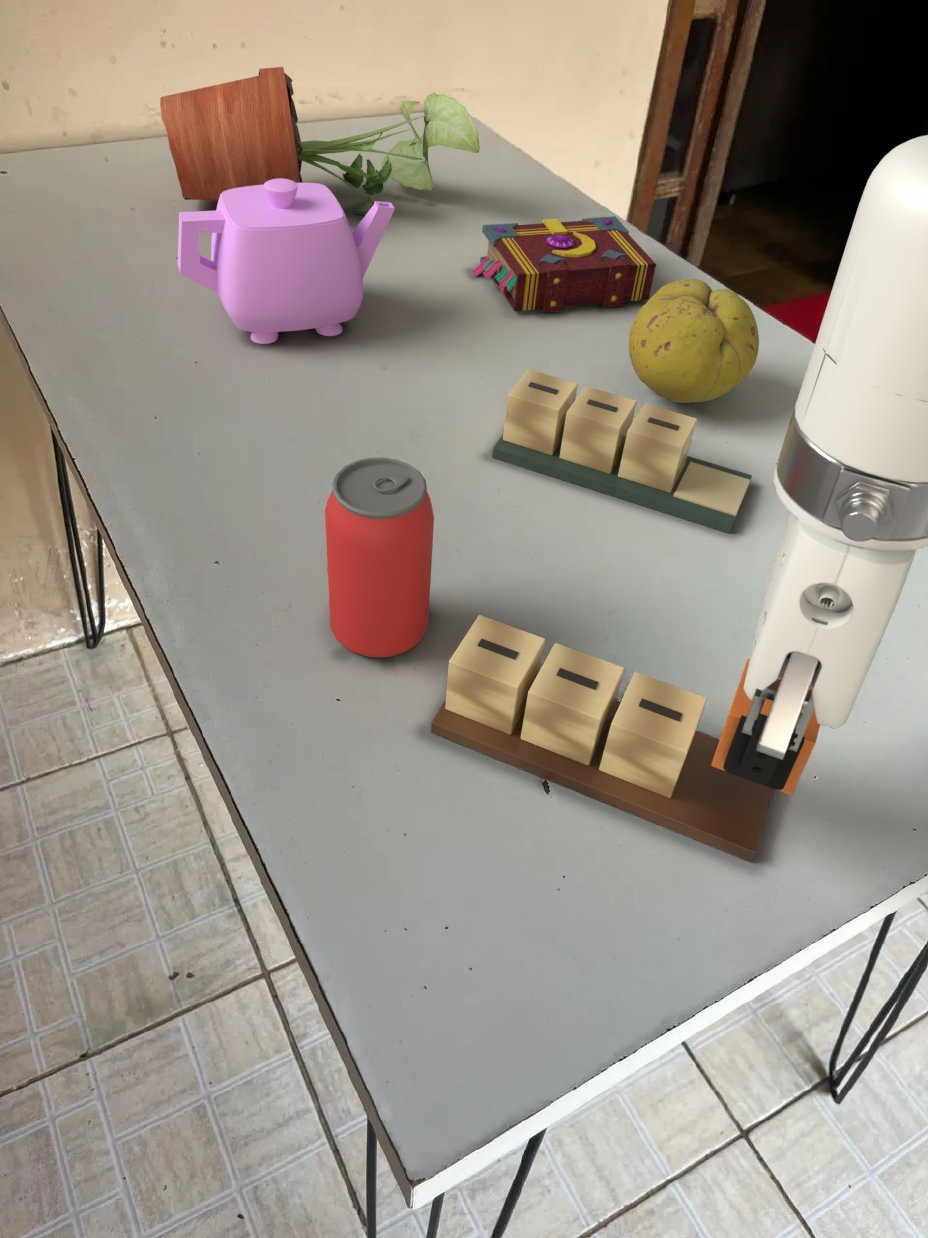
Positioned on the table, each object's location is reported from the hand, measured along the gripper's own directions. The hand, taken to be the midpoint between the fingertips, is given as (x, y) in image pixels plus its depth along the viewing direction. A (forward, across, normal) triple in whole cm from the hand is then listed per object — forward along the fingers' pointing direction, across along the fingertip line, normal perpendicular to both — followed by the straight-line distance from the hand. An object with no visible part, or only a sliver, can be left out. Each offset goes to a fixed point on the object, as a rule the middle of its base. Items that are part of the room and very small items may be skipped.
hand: (763, 740), depth 53 cm
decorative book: (+5, +56, +32) cm, 65 cm away
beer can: (+6, +3, +25) cm, 26 cm away
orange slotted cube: (+1, 0, 0) cm, 1 cm away
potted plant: (+4, +61, +62) cm, 87 cm away
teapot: (+5, +36, +52) cm, 64 cm away
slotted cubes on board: (+6, 0, +8) cm, 10 cm away
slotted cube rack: (+6, +28, +16) cm, 33 cm away
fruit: (+6, +42, +15) cm, 45 cm away
